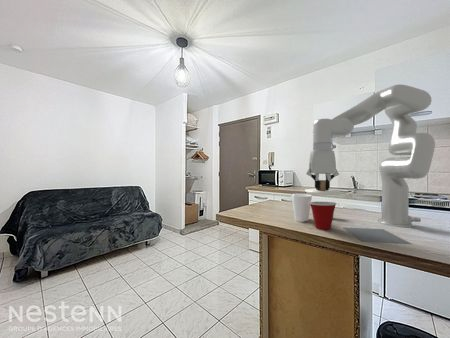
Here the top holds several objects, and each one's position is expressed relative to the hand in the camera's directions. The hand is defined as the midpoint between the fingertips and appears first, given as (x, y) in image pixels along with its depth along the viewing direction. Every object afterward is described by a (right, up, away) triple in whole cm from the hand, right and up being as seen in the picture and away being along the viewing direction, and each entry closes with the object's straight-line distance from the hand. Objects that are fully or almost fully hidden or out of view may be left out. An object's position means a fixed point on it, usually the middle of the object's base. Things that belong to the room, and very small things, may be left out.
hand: (322, 189), depth 85 cm
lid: (0, -1, 0) cm, 1 cm away
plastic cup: (0, -18, 0) cm, 18 cm away
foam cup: (-3, -18, +14) cm, 23 cm away
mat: (+16, -18, -9) cm, 25 cm away
